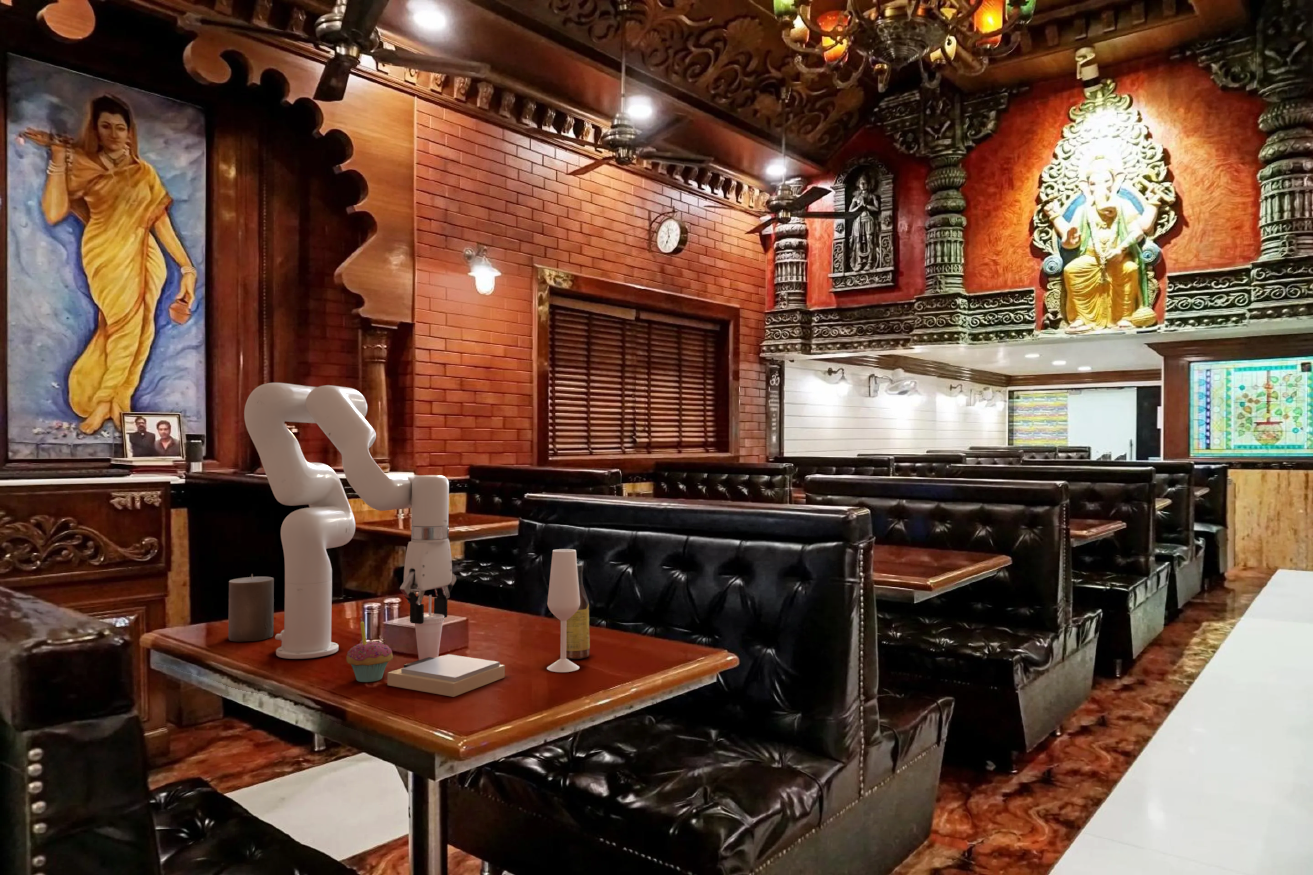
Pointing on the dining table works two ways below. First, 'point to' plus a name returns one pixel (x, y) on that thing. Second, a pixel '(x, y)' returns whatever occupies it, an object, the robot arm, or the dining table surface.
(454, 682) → the scale
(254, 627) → the pillar candle
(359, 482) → the robot arm
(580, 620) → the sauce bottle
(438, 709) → the dining table surface
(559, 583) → the champagne flute
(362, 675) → the cupcake
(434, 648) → the smoothie
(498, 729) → the dining table surface
